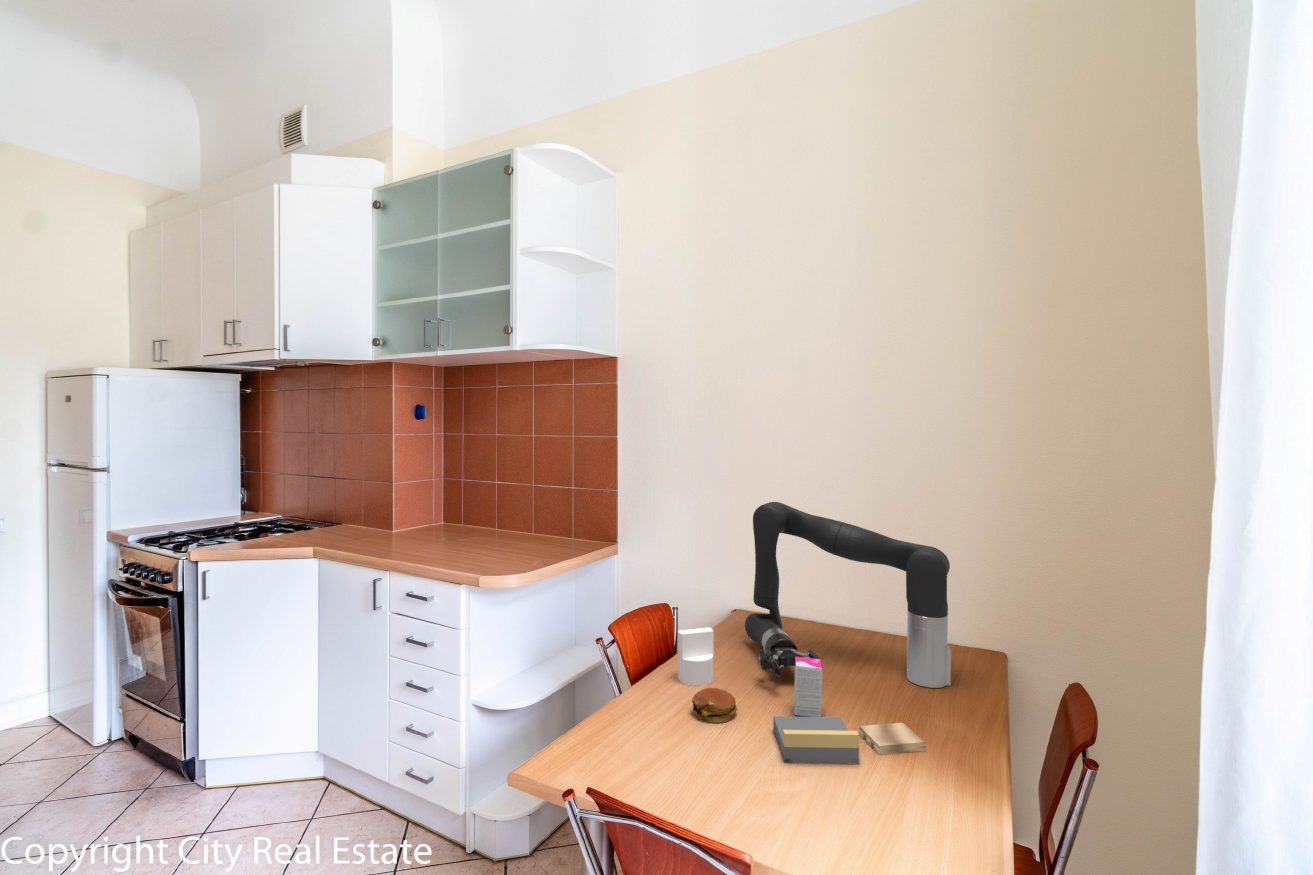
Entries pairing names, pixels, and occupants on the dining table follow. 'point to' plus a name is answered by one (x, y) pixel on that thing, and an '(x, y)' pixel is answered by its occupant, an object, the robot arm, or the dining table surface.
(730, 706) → the burger
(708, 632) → the cylinder with rectangular tab
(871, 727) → the block
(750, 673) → the dining table surface
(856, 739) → the dock
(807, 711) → the supplement box
